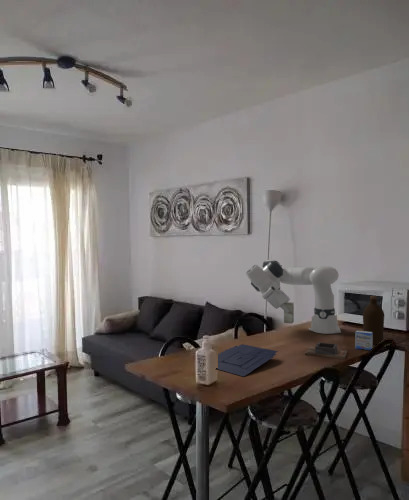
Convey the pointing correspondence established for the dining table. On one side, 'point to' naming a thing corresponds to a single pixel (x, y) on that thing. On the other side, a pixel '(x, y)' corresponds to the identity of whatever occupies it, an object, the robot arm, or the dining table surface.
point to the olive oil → (374, 320)
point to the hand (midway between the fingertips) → (290, 311)
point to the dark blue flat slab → (243, 359)
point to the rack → (326, 351)
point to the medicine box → (363, 340)
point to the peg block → (289, 313)
